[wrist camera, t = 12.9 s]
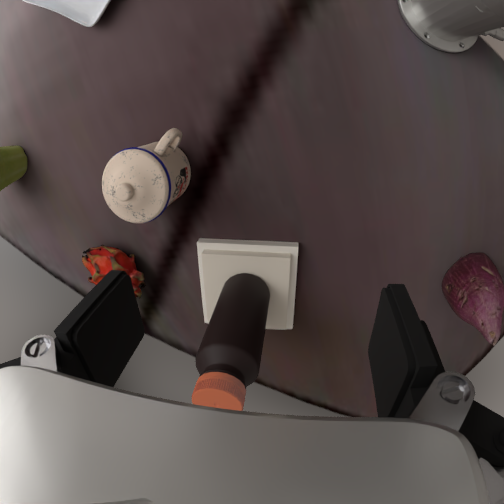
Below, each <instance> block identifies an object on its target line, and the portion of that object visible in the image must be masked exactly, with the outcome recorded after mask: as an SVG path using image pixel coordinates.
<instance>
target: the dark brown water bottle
mask: <svg viewBox="0 0 504 504" xmlns="http://www.w3.org/2000/svg"><path fill="white" fill-rule="evenodd" d="M269 300H270V292H269V288H268V286H267V285H266V283H265V282H264V281H263V280H262V279H261V278H260V277H257V276H255V275H253V274H248V273H241V274H236V275H234V276H232V277H230V278H229V279H228V280H227V281H226V282H225V284H224V286H223V288H222V291H221V293H220V296H219V298H218V301H217V304H216V306H215V309H214V311H213V314H212V316H211V319H210V322H209V324H208V327H207V329H206V332H205V335H204V337H203V340H202V342H201V345H200V348H199V350H198V353H197V355H196V367H197V370H198V372H199V374H200V377H199V378H198V380H197V383H196V385H195V388H194V391H193V394H192V402H193V404H195V405H201V406H208V407H214V408H222V409H229V410H238V411H242V410H243V406H244V401H245V395H246V387H247V386H248V385H250V384H252V383H253V382H254V381H255V379H256V378H257V377H258V373H259V368H260V361H261V355H262V348H263V341H264V335H265V328H266V321H267V314H268V307H269Z"/></svg>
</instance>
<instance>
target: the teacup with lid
mask: <svg viewBox="0 0 504 504" xmlns="http://www.w3.org/2000/svg"><path fill="white" fill-rule="evenodd" d="M181 139H182V133H181V131H179V130H178V129H176V128H173V129H170V130H169V131H168V132H166V133H165V135H164V136H163V137H162V138H161V139H160V141H159V142H154V143H151V144H147V145H144V146H140V147H132V148H127V149H123V150H121V151H119V152H118V153H116V154H115V155H114V156H113V157H112V158H111V159H110V161H109V162H108V164H107V165H106V167H105V170H104V173H103V177H102V190H103V195H104V198H105V200H106V202H107V204H108V206H109V207H110V209H111V210H112V211H113V212H114V213H115V214H116V215H117V216H119V217H120V218H122V219H123V220H126V221H128V222H132V223H146V222H149V221H152V220H154V219H156V218H157V217H159V216H160V215H161V214H162V213H163V211H164V210H165V209H166V207H167V206H169V205H170V204H171V203H172V202H174V201H175V200H176V199H177V198H178V197H180V196H181V195H182V194H183V193H184V192H185V190H186V189H187V187H188V185H189V182H190V177H191V169H190V164H189V161H188V159H187V157H186V155H185V154H184V153H183V151H182V150H181V149H180V148H178V145H179V143H180V141H181Z"/></svg>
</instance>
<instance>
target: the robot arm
mask: <svg viewBox="0 0 504 504" xmlns="http://www.w3.org/2000/svg"><path fill="white" fill-rule="evenodd" d="M403 1H404V2H405V3H404V2H403ZM398 6H399V10H400V12H401V15H402V17H403V19H404V20H405V22H406V24H407V25H408V27H409V28H410V29H411V30H412V32H413V33H414V34H415V35H416V36H417V37H418V38H419V39H421V40H422V41H423V42H425V43H426V44H427V45H429V46H431V47H433V48H435V49H437V50H440V51H443V52H449V53H457V52H462V51H465V50H467V49H469V48H470V47H472V46H473V45H474V43H475V42H476V41H477V38H478V35H484V36H486V35H490V36H492V37H494V38H496V39H498V40H501V41H503V40H504V30H503V29H501V27H504V0H398ZM424 35H425V36H426V38H425V36H424ZM54 332H55V334H56V338H55V339H53V338H52V337H51V336H49V335H38V336H35V337H33V338H31V339H30V340H28V341H27V342H26V343H25V344H24V346H23V348H22V352H21V357H19V358H17V359H14V360H11V361H8V362H5V363H2V364H0V504H504V418H503V417H502V416H500V415H498V414H497V413H495V412H493V411H491V410H490V409H488V408H486V407H485V406H483V405H481V404H479V403H478V402H476V401H474V396H475V390H474V386H473V384H472V383H471V381H470V380H469V379H468V378H467V377H465V376H464V375H462V374H460V373H457V372H445V370H444V367H443V365H442V362H441V359H440V357H439V354H438V352H437V349H436V347H435V344H434V342H433V339H432V337H431V334H430V332H429V330H428V327H427V325H426V323H425V322H424V321H423V320H421V321H420V319H419V317H418V314H417V312H416V310H415V307H414V305H413V303H412V301H411V298H410V296H409V294H408V292H407V289H406V287H405V285H404V284H388V286H387V288H383V289H382V292H381V296H380V301H379V305H378V310H377V314H376V319H375V323H374V327H373V331H372V335H371V339H370V343H369V349H368V354H369V360H370V366H371V372H372V378H373V384H374V391H375V397H376V404H377V412H378V417H319V416H294V415H279V414H266V413H256V412H246V411H238V410H229V409H222V408H214V407H208V406H201V405H195V404H189V403H183V402H177V401H172V400H167V399H162V398H157V397H152V396H147V395H143V394H139V393H134V392H130V391H126V390H122V389H118V388H114V385H115V383H116V381H117V380H118V378H119V376H120V374H121V373H122V371H123V369H124V368H125V366H126V365H127V362H128V361H129V359H130V358H131V356H132V355H133V353H134V351H135V349H136V348H137V346H138V345H139V343H140V341H141V340H142V338H143V336H144V326H143V323H142V319H141V316H140V312H139V308H138V304H137V301H136V297H135V293H134V289H133V285H132V281H131V277H130V276H129V275H127V273H126V272H125V271H121V270H111V271H109V272H108V273H107V274H106V275H105V276H104V277H103V279H102V280H101V281H100V282H99V283H98V284H97V285H96V286H95V287H94V288H93V289H92V290H91V291H90V292H89V293H88V294H87V295H86V296H85V297H84V298H83V300H82V301H81V302H80V303H79V304H78V305H77V306H76V307H75V308H74V309H73V310H72V311H71V312H70V314H69V315H68V316H67V317H66V318H65V319H64V320H63V321H62V322H61V324H60V325H59V326H58V327H57V328H56V329H55V331H54Z"/></svg>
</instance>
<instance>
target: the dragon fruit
mask: <svg viewBox="0 0 504 504" xmlns="http://www.w3.org/2000/svg"><path fill="white" fill-rule="evenodd" d="M101 246H102V247H96V248H89V249H88V250H86V251H84V252H83V253H86V254H87V255H86V256H83V255H82V262H83V264H84V266H85V267H86V268H87V269H88V270H89V271H90V273H91V274H92V278H91V277H89V278H88V281H89V282H91V283H94V284H95V285H97V284H98V283H99V282H100V281H101V280H102V279H103V277H104V276H105V275H106V274H107V273H108V272H109V271H111V270H121V271H125V272H126V273H127V275H129V276H130V277H131V281H132V285H133V289H134V293H135V297H139V299H140V298H141V294H142V292H141V288H144V287H145V286H146V285H145V282H144V281H143V280H145V278H144V276H143V273H141V272H139V271H137V269H136V265H135V262H134V258H135V255H134V254H132V255H129V256H130V258H129V257H128V256H127V255H126V254H125V253H124V252H122V251H121V250H119V249H118V248H112V247H105V246H104V245H101ZM139 284H141V285H142V286H141V288H139V287H138V285H139ZM136 299H137V298H136Z"/></svg>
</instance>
